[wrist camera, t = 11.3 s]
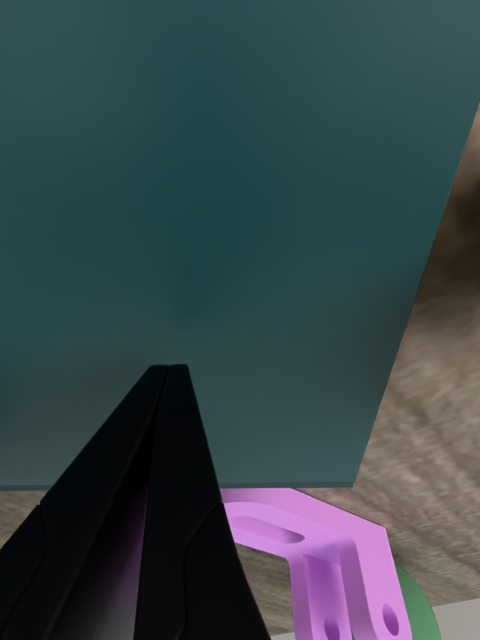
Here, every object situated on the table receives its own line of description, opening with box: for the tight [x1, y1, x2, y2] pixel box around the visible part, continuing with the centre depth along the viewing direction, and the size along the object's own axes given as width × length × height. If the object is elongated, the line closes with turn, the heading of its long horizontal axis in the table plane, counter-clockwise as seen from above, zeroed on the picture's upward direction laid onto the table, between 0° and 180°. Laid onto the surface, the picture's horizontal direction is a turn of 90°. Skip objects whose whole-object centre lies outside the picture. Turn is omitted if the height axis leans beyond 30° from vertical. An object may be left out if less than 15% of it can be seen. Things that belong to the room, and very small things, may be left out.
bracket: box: [220, 488, 412, 640], centre depth 21 cm, size 13×6×7 cm, turn 50°
